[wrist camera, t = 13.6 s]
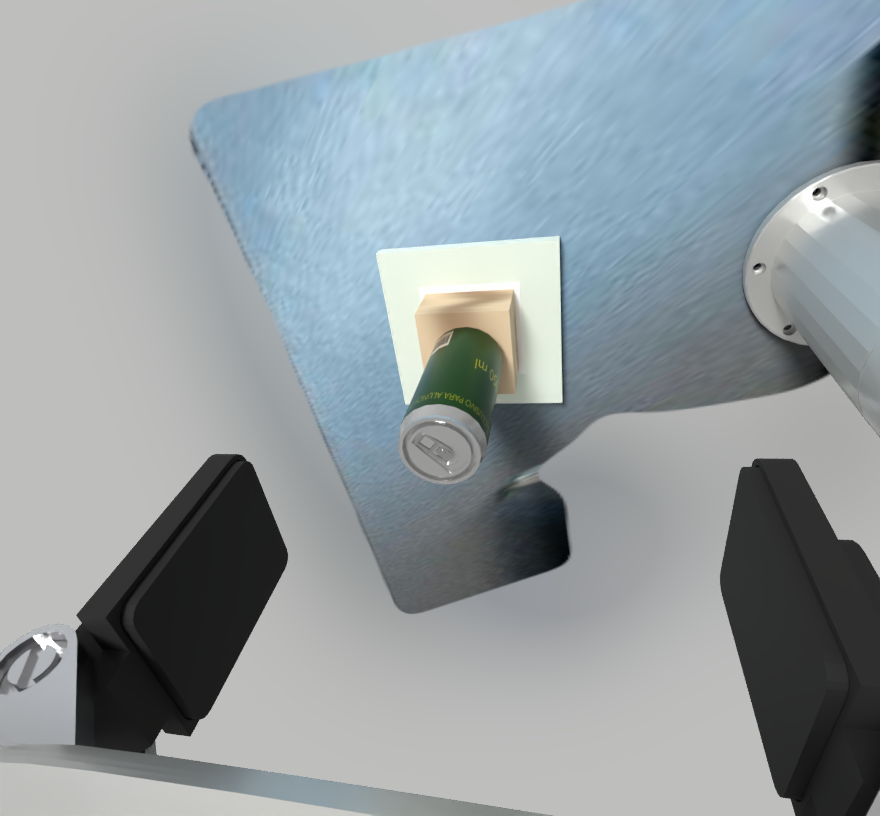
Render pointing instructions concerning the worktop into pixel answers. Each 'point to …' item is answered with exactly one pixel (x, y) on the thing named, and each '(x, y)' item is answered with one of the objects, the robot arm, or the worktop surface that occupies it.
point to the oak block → (472, 324)
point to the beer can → (452, 407)
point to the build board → (482, 269)
